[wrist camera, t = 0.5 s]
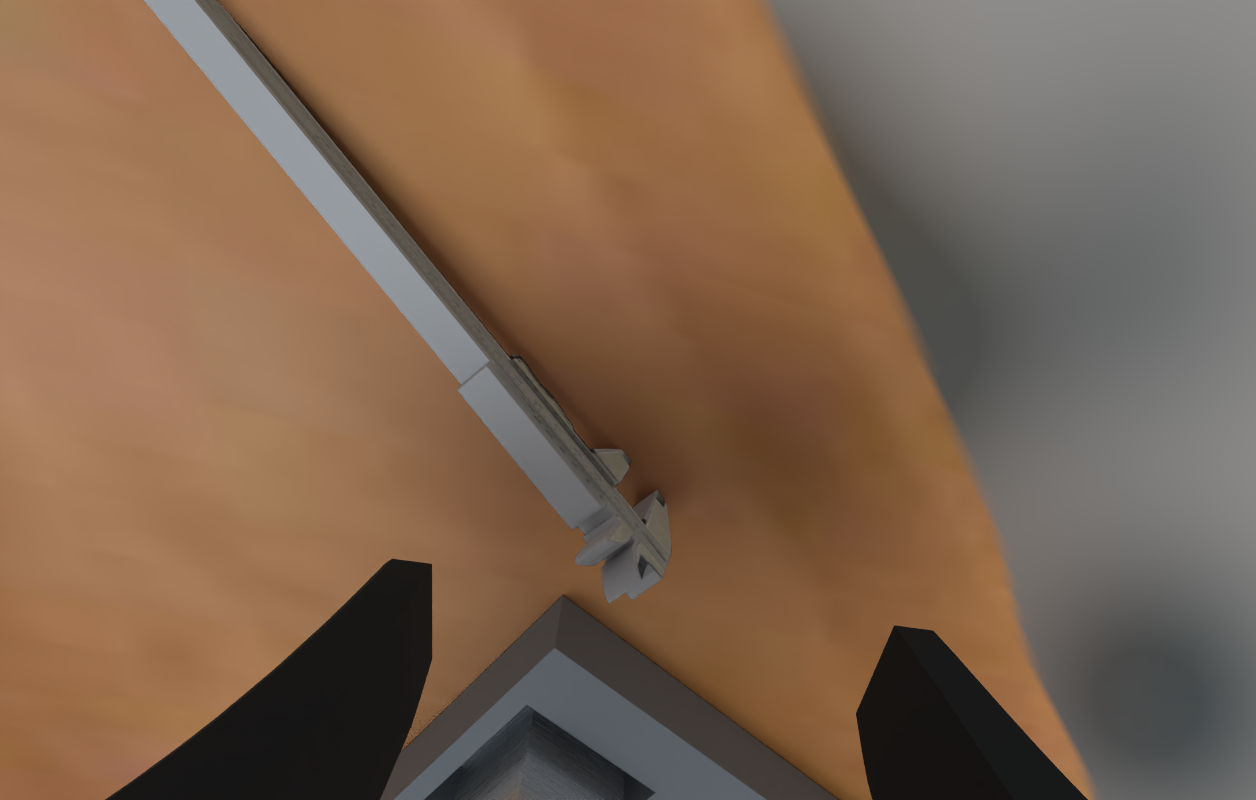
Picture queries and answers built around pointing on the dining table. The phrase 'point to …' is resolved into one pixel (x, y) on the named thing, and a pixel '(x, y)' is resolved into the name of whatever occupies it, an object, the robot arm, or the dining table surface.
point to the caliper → (435, 309)
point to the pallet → (600, 721)
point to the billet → (538, 765)
